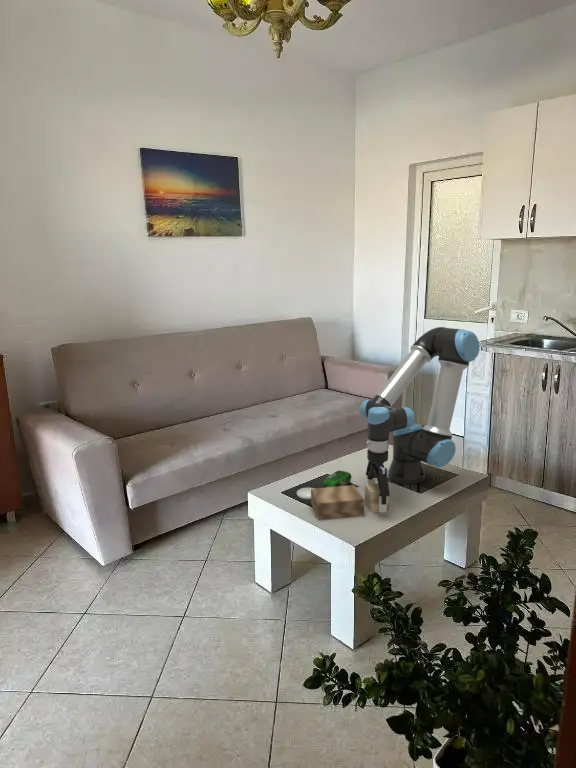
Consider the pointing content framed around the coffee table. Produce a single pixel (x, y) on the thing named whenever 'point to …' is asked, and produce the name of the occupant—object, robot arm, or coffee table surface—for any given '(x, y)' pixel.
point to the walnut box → (337, 502)
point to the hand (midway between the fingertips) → (376, 503)
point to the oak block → (373, 497)
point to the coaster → (304, 493)
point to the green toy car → (337, 479)
